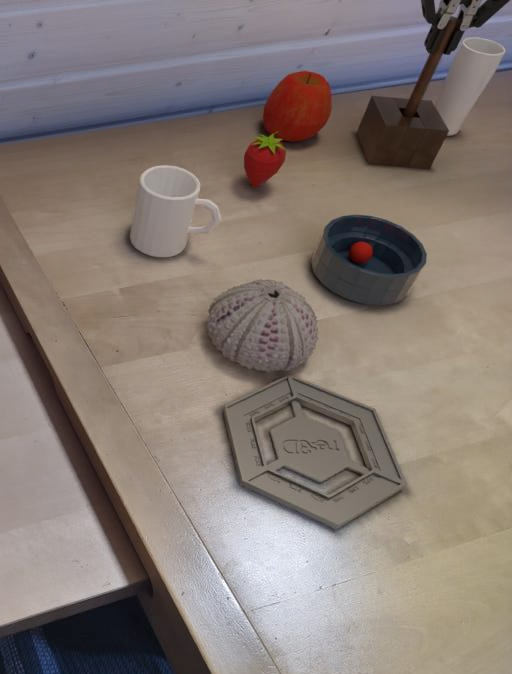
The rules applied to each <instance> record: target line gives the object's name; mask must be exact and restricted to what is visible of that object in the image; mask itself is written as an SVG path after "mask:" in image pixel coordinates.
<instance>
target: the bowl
mask: <svg viewBox="0 0 512 674" xmlns="http://www.w3.org/2000/svg"><path fill="white" fill-rule="evenodd" d="M357 242H366V243H368V244H369V245H370V246H371V247H372V250H373V254H372V257H371V258H370V260H368V261H367V262H365V263H361V264H359V263H355V262H353V261H352V260H351V259H350V257H349V250H350V248H351V246H352V245H354V244H355V243H357ZM427 256H428V253H427V251H426V249H425V246H424V245H423V243H422V242H421V241H420V239H419V238H417V237H416V235H415V234H414V233H412V232H410V231H409V230H407V229H406V228H404V227H403V226H401V225H399V224H397V223H394V222H392V221H390V220H388V219H385V218H382V217H377V216H373V215H366V214H365V215H364V214H347V215H342V216H338V217H336V218H334V219H331V220H330V221H329V222H328V223H327V224H326V225H325V226H324V228H323V231H322V233H321V236H320V237H319V240H318V243H317V245H316V247H315V249H314V252H313V255H312V258H311V263H310V265H311V268H312V271H313V274H314V275H315V277H316V278H317V279H318V281H319V282H320V284H322V285H323V286H324V287H325V288H327V289H328V290H329V291H331V292H332V293H334V294H336V295H338V296H340V297H342V298H344V299H346V300H348V301H351V302H355V303H358V304H362V305H371V306H385V305H386V306H387V305H392V304H395V303H399V302H400V301H402V300H404V299H405V298H406V297H407V296H408V294H410V292H411V290H412V289H413V287H414V285H415V284H416V281H418V279H419V276H420V275H421V273H422V271H423V269H424V268H425V267H426V264H427V258H428V257H427Z"/></svg>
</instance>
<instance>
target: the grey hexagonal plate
mask: <svg viewBox="0 0 512 674" xmlns="http://www.w3.org/2000/svg"><path fill="white" fill-rule="evenodd" d="M289 405H291V410H292V413H293V415H294V417H292V418H290V419H288V420H287V421H285V422H283V423H280V424H279V425H277V426H275V427H273V428H270V430H269V434H270V437H271V440H272V444H273V448H274V451H275V454H276V460H274V461H272V462H270V463H268V464H267V462H266V457H265V454H264V450H263V447H262V442H261V440H260V435H259V431H258V429H257V425H256V422H257V421H259V420H261V419H263V418H266V417H267V416H269V415H271V414H273V413H275V412H277V411H278V410H281V409H283V408H285V407H287V406H289ZM302 407H305V408H308V409H310V410H312V411H315V412H318V413H319V414H322V415H325V416H327V417H329V418H332V419H333V420H336V421H339V422H341V423H344V424H346V425H349V426H350V427H351V430H352V433H353V436H354V437H355V440H356V443H357V445H358V448H359V451H360V453H361V455H362V459H363V462H364V463H365V466H364V465H361V464H359V463H356V462H354V461H352V460H350V458H349V455H348V453H347V450H346V447H345V445H344V441H343V439H342V436H341V433H340V431H339V430H337V429H335V428H332V427H331V426H327V425H325V424H323V423H321V422H318V421H315V420H314V419H311V418H308V417H307V416H305V415H304V412H303V408H302ZM222 413H223V417H224V422H225V426H226V430H227V434H228V439H229V444H230V448H231V452H232V456H233V461H234V464H235V469H236V472H237V477H238V482H239V485H240V486H241V487H244V488H245V489H248V490H250V491H251V492H254V493H256V494H258V495H260V496H262V497H265V498H267V499H269V500H272V501H274V502H276V503H278V504H280V505H282V506H284V507H286V508H288V509H291V510H293V511H295V512H297V513H299V514H302V515H304V516H305V517H308V518H310V519H312V520H314V521H317V522H319V523H321V524H323V525H325V526H327V527H330V528H332V529H333V530H338V529H340V528H342V527H343V526H344V525H346V524H348V523H349V522H351V521H353V520H354V519H356V518H357V517H359V516H361V515H362V514H364V513H366V512H367V511H369V510H371V509H372V508H374V507H376V506H377V505H379V504H381V503H382V502H384V501H386V500H387V499H389V498H390V497H392V496H394V495H395V494H397V493H399V492H400V491H402V490H403V489H405V487H406V486H407V481H406V479H405V476H404V474H403V471H402V469H401V467H400V464H399V462H398V460H397V457H396V455H395V452H394V450H393V448H392V446H391V443H390V440H389V438H388V436H387V433H386V431H385V429H384V426H383V424H382V422H381V420H380V417H379V415H378V412H377V410H376V408H373V407H371V406H368V405H366V404H364V403H361V402H359V401H357V400H354V399H351V398H350V397H347V396H344V395H342V394H339V393H337V392H334V391H332V390H329V389H327V388H324V387H322V386H319V385H317V384H314V383H312V382H310V381H307V380H304V379H302V378H299V377H297V376H295V375H292V374H290V373H289V374H287V375H285V376H283V377H281V378H279V379H277V380H275V381H272V382H269V383H267V384H266V385H264V386H262V387H260V388H258V389H256V390H253V391H251V392H249V393H247V394H244V395H243V396H241V397H239V398H237V399H235V400H232V401H231V402H228V403H226V404H224V406H223V408H222ZM282 468H286V469H289V470H291V471H293V472H294V473H296V474H299V475H302V476H304V477H306V478H308V479H311V480H313V481H314V482H317V483H319V484H321V483H323V482H325V481H326V480H327V481H328V479H330V478H332V477H334V476H335V475H337V474H340V473H341V472H343V471H344V470H346V469H347V470H349V471H352V472H354V473H357V474H359V475H360V476H359V477H357V478H355V479H354V480H352V481H351V482H349V483H347V484H345V485H344V486H342V487H340V488H338V489H336V490H335V491H333V492H331V493H330V494H327V493H325V492H323V491H321V490H319V489H317V488H314V487H312V486H310V485H308V484H305V483H303V482H301V481H299V480H297V479H295V478H292V477H290V476H288V475H286V474H283V473H281V472H279V470H281V469H282Z"/></svg>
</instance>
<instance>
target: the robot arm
mask: <svg viewBox="0 0 512 674" xmlns="http://www.w3.org/2000/svg"><path fill="white" fill-rule="evenodd" d="M482 1H483V0H440V1H439V4H438V8H437V10H436V3H435V0H420V4H421V11H422V17H423V18H424V19H425V21H426V23H427V24H429V25H431V26H430V28H429V31H428V33H427V35H426V36H425V37H426V38H425V39H424V42H423V43H424V47H425V50H426V52H427V54H430V53H431V54H434V53H435V51H436V49H437V46H438V44H439V42H440V40H441V38H442V35H443V33H444V31H445V29H444V28H445V27H446V25H447V23H448V21H449V19H450V17H451V16H452V15H454V14H455V13H456V11H457V9H458V7H459V10H458V13H457V15H456V18H458V19H459V21H458V23H457V25H456V27H455V29H454V32H453V34H452V36H451V38H450V40H449V42H448V44H447V47H446V49H445V51H444V53H443V55H445V56H450V55H451V53H452V52H455V50H456V49H458V46H459V44H460V42H461V40H462V38H463V36H464V34H465V32H466V31H467V30H468V29H471V28H476V29H478V28H481V27H482V26H483V25H484V24H485V23H487V22H488V21H489V20H490V19H491V18H492V17H493V16H495V15H496V14H497V13H498V12H499V11H501V9H502V8H504V7H505V6H506V5H507V4H508V3H509V2H510V1H511V0H486V1H484V2H483V3H482ZM481 3H482V4H481Z"/></svg>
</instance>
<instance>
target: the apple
mask: <svg viewBox="0 0 512 674" xmlns="http://www.w3.org/2000/svg"><path fill="white" fill-rule="evenodd" d="M332 102H333V100H332V91H331V87H330V83H329V81H328V80H327V79H326V78H325V77H324V76H323V75H321V74H320V73H317V72H314V71H308V70H300V71H295V72H291V73H288V74H287V75H286V76H284V77H283V78H282V79H281V80H280V81H279V82H278V83H277V84H276V86H275V87H274V89H273V90H272V91H271V92H270V94H269V96H268V98H267V99H266V101H265V104H264V106H263V112H262V122H263V127H264V130H265V131H266V132H267V133H268V135H269V136H270V135H272V134H274V133H275V134H274V138H277V139H283V140H282V141H286V142H295V143H296V142H301V141H306V140H308V139H310V138H312V137H314V136H316V135H317V134H318V133H319V132H320V131H321V130H322V129H323V128H325V126H326V125H327V123H328V121H329V119H330V117H331V112H332V108H333V106H332V105H333V103H332ZM277 131H278V132H277ZM276 132H277V133H276Z"/></svg>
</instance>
